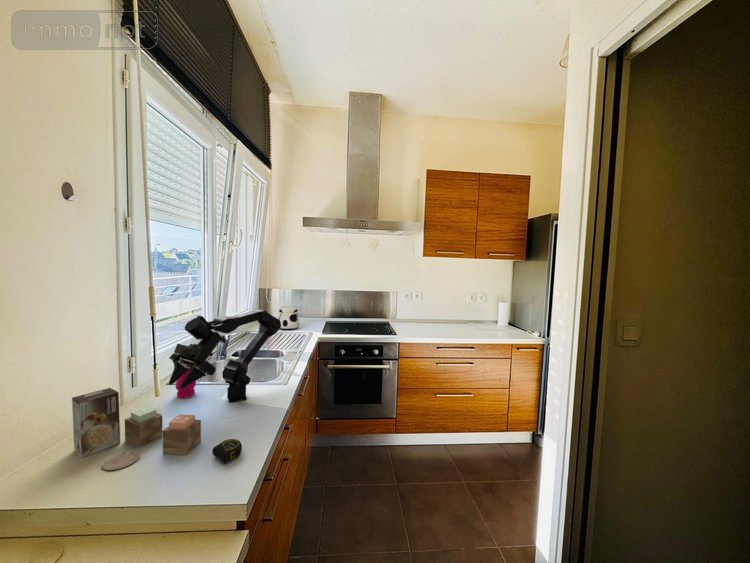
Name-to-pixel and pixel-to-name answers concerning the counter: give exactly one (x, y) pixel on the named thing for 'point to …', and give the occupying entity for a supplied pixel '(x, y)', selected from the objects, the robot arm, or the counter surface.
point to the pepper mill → (186, 391)
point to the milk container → (288, 317)
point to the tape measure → (227, 450)
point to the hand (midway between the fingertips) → (175, 386)
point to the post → (143, 431)
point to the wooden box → (181, 439)
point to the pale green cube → (143, 414)
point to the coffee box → (96, 421)
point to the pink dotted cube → (182, 422)
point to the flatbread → (121, 461)
